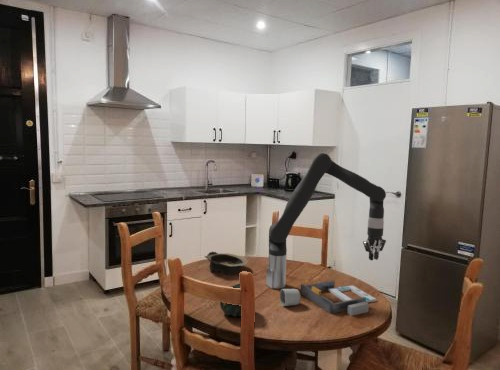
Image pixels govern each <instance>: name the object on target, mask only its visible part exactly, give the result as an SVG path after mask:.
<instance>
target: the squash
mask: <svg viewBox="0 0 500 370" xmlns="http://www.w3.org/2000/svg"><path fill="white" fill-rule="evenodd" d="M230 287H233V288H240V283H237V284H234V285H231V286H230ZM219 303H220V304H219V305H220V309H221V310H222V312H224V314H225V315H226V316H228V315H232V317H239V316H240V315H241V306H239V305H232V304H227V303H222V302H219ZM237 315H238V316H237ZM240 317H241V316H240Z"/></svg>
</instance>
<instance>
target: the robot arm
mask: <svg viewBox="0 0 500 370" xmlns="http://www.w3.org/2000/svg"><path fill="white" fill-rule="evenodd" d="M325 174H327V175H329V176H332V177H334V178H336V179H338V180H339V181H341V182H343V183H344V184H345V185H347V186H349V187H350V188H352V189H354V190H356V191H357V192H359V193H361V194H364V195H365V196H366V197H368V198H369V209H368V211H369V212H368V220H367V231H366V232H367V233H366V234H367V239H366V240H365V241H363V242H362V243H363V246H364V247H363V248H364V250H365V252H367V253H368V259H369V261H373V260H376V261H377V260H379V257H380V256H379V255H380V252H382V251H383V250H384V247H385V244H386V243H387V240H386V239H383V236H384V227H385V225H384V224H385V221H384V220H385V219H384V218H385V217H384V216H385V209H384V207H385V206H384V201H385V199H386V197H387V192H386V191H385V189H384V188H383V187H381V186H378V185H376V184H375V183H372V182H371V181H369V180H368V179H366V178H365V177H363V176H361V175H359V174H357V173H356V172H353V171H351V170H349V169H347V168H344V167H343V166H340V164H337V163H336V162H335V161H334V160H332V159H331V157H330V155H329V154H328V153H326V152H325V153H324V152H323V153H318V154H316V155H315V156H314V157H313V160H312V162H311V164H310V166H309V168H308V170H307V172H306V174H305V175H304V177H303V178H302V179H301V180H300V182H299V183H298V184H297V186H296V187H295V188H294V190H293V191H292V193H291V194H290V196H289V198H288V200H287V203H286V205H285V208H284V210H283V213H282V214H281V217H280V218H279V219H278V221H277V222H274V223H272V224H271V225H270V226H269V229H268V266H267V267H266V276H265V277H266V278H265V279H266V281H265V282H266V283H265V284H266V286H268V287H269V288H270V289H285V287H286V277H287V250H288V249H287V239H288V237H289V234H290V232H291V230H292V228H293V226H294V224H295V222H296V221H297V219H298V218H299V216H300V215H301V214H302V212H303V211H304V210H305V208H306V206H307V205H308V203H309V202H310V200H311V198H312V196H313V194H314V192H315V190H316V189H317V186H318V185H319V184H318V183H319V182H320V181H321V179H322V178H323V177H324V175H325Z"/></svg>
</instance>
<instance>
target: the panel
mask: <svg viewBox="0 0 500 370" xmlns="http://www.w3.org/2000/svg"><path fill="white" fill-rule="evenodd" d="M369 306H370V303H369V302H368V303H367V302H361V303H357V304H352V305H348V310H347V311H346V312H347V315H349V316H351V317H353V316H356V315H360V314H365V313H369V308H370V307H369Z"/></svg>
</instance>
